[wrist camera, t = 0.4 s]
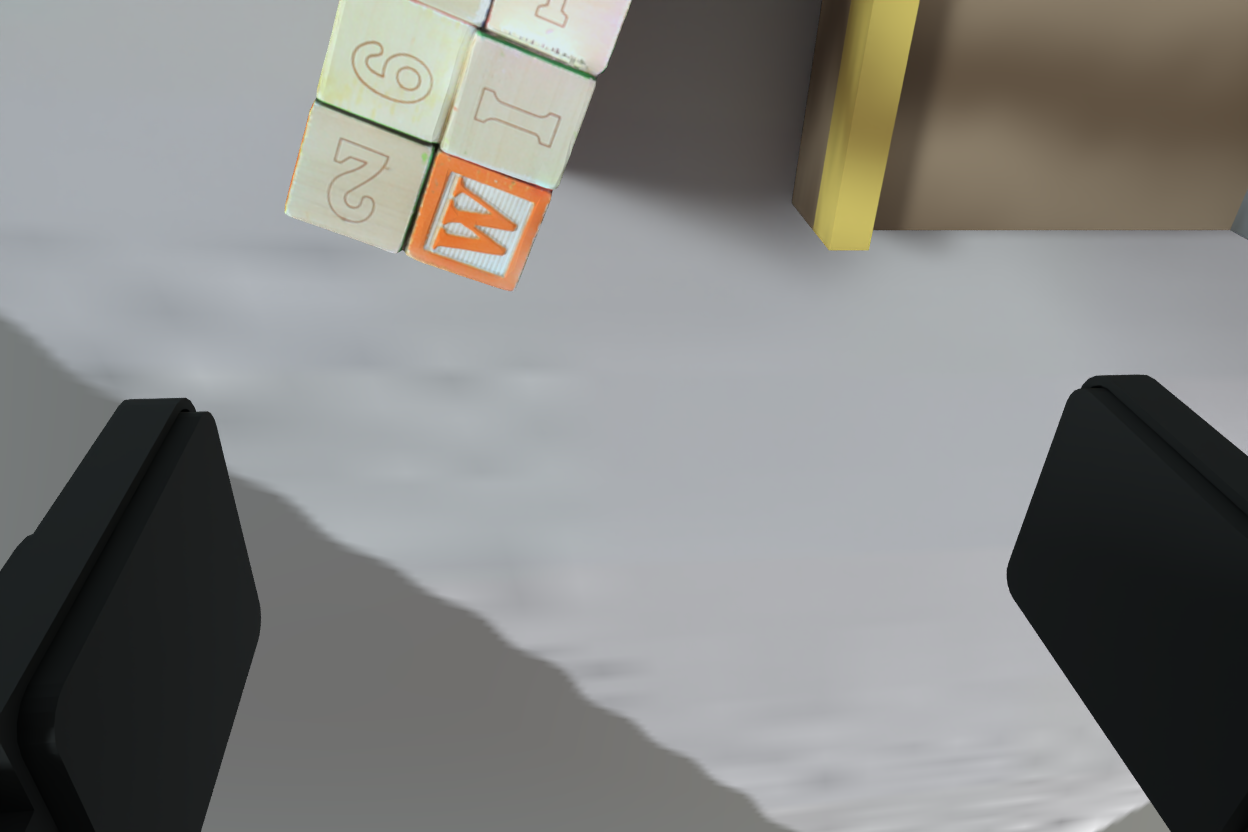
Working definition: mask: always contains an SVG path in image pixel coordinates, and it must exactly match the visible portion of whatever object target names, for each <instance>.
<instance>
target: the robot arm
mask: <svg viewBox="0 0 1248 832" xmlns="http://www.w3.org/2000/svg"><path fill="white" fill-rule="evenodd" d="M1007 583H1008V587H1009V591H1010V593H1011V595H1012V597H1013V599H1014V600H1015V602H1016V603H1017V605H1018V606H1019V608H1020V609H1021V611H1022V612H1023V614H1024V615H1025V617H1026V618H1027V620H1028V621H1029V623H1030V624H1031V625H1032V627H1033V628H1034V630H1035V631H1036V633H1037V634H1038V636H1039V637H1040V639H1041V640H1042V642H1043V643H1044V645H1045V646H1046V648H1047V649H1048V651H1049V652H1050V654H1051V655H1052V657H1053V658H1054V659H1055V661H1056V662H1057V664H1058V665H1059V667H1060V668H1061V670H1062V671H1063V673H1064V674H1065V676H1066V677H1067V679H1068V680H1069V682H1070V683H1071V685H1072V686H1073V688H1074V689H1075V691H1076V692H1077V693H1078V695H1079V696H1080V698H1081V699H1082V701H1083V702H1084V704H1085V705H1086V707H1087V708H1088V710H1089V711H1090V713H1091V714H1092V716H1093V717H1094V719H1095V720H1096V722H1097V723H1098V725H1099V726H1100V728H1101V729H1102V730H1103V732H1104V733H1105V735H1106V736H1107V738H1108V739H1109V741H1110V742H1111V744H1112V745H1113V747H1114V748H1115V750H1116V751H1117V753H1118V754H1119V756H1120V757H1121V759H1122V760H1123V762H1124V763H1125V764H1126V766H1127V767H1128V769H1129V770H1130V772H1131V773H1132V775H1133V776H1134V778H1135V779H1136V781H1137V782H1138V784H1139V785H1140V787H1141V788H1142V790H1143V791H1144V793H1145V794H1146V796H1147V797H1148V799H1149V800H1150V801H1151V803H1152V804H1153V806H1154V807H1155V809H1156V810H1157V812H1158V813H1159V815H1160V816H1161V818H1162V819H1163V821H1164V822H1165V823H1166V825H1167V827H1168V828H1169V830H1170V831H1171V832H1248V456H1247V455H1246V454H1245V453H1243V452H1242V451H1241V450H1240V449H1238V448H1237V447H1236V446H1235V445H1234V444H1232V443H1231V442H1230V441H1229V440H1228V439H1226V438H1225V437H1224V436H1223V435H1221V434H1220V433H1219V432H1218V431H1217V430H1215V429H1214V428H1213V427H1212V426H1211V425H1209V424H1208V423H1207V422H1206V421H1205V420H1203V419H1202V418H1201V417H1200V416H1198V415H1197V414H1196V413H1195V412H1194V411H1192V410H1191V409H1190V408H1189V407H1188V406H1186V405H1185V404H1184V403H1183V402H1182V401H1180V400H1179V399H1178V398H1177V397H1175V396H1174V395H1173V394H1172V393H1171V392H1169V391H1168V390H1167V389H1166V388H1165V387H1163V386H1162V385H1161V384H1160V383H1159V382H1157V381H1156V380H1155V379H1153V378H1151V377H1149V376H1148V375H1102V376H1094V377H1092V378H1089V379H1088V380H1087V381H1086V382H1085V383H1084V384H1083V385H1082V387H1081V389H1078V390H1075V391H1074V392H1073V393H1072V394H1071V395H1070V396H1069V398H1068V400H1067V402H1066V405H1065V408H1064V411H1063V413H1062V416H1061V419H1060V422H1059V425H1058V427H1057V430H1056V433H1055V436H1054V438H1053V441H1052V444H1051V447H1050V449H1049V452H1048V455H1047V458H1046V461H1045V463H1044V466H1043V469H1042V472H1041V474H1040V477H1039V480H1038V483H1037V485H1036V488H1035V491H1034V494H1033V497H1032V499H1031V502H1030V505H1029V508H1028V510H1027V513H1026V516H1025V519H1024V522H1023V524H1022V527H1021V530H1020V533H1019V535H1018V538H1017V541H1016V544H1015V546H1014V549H1013V552H1012V555H1011V558H1010V560H1009V563H1008V567H1007ZM260 626H261V611H260V603H259V600H258V595H257V591H256V587H255V582H254V578H253V574H252V570H251V566H250V562H249V558H248V553H247V549H246V545H245V541H244V537H243V533H242V529H241V525H240V521H239V516H238V512H237V508H236V504H235V500H234V496H233V492H232V488H231V484H230V479H229V475H228V471H227V467H226V463H225V459H224V455H223V451H222V446H221V442H220V438H219V434H218V430H217V426H216V423H215V420H214V418H213V416H212V414H211V413H209V412H208V411H207V412H196V410H195V407H194V406H193V404H192V403H191V401H190V400H188V399H187V398H161V399H129V400H124V401H123V402H122V403H121V404H120V405H119V406H118V408H117V409H116V411H115V412H114V414H113V415H112V417H111V418H110V420H109V421H108V423H107V425H106V426H105V427H104V429H103V430H102V432H101V433H100V435H99V436H98V438H97V439H96V441H95V442H94V444H93V445H92V447H91V448H90V450H89V451H88V453H87V454H86V456H85V457H84V459H83V460H82V462H81V463H80V465H79V466H78V468H77V469H76V471H75V472H74V474H73V475H72V477H71V478H70V480H69V482H68V483H67V484H66V486H65V487H64V489H63V490H62V492H61V493H60V495H59V496H58V498H57V499H56V501H55V502H54V504H53V505H52V507H51V508H50V510H49V511H48V513H47V514H46V516H45V517H44V518H43V520H42V521H41V523H40V524H39V526H38V527H37V529H36V531H35V532H34V534H32V535H29V536H27V537H26V538H25V539H24V540H23V541H22V542H21V543H20V544H19V545H18V546H17V548H16V549H15V550H14V552H13V553H12V555H11V556H10V558H9V559H8V561H7V562H6V564H5V565H4V566H3V568H2V569H1V571H0V832H201V829H202V826H203V822H204V819H205V816H206V812H207V809H208V806H209V802H210V799H211V796H212V792H213V789H214V785H215V782H216V779H217V776H218V772H219V769H220V766H221V762H222V759H223V755H224V752H225V749H226V746H227V742H228V739H229V736H230V732H231V729H232V726H233V722H234V719H235V715H236V712H237V709H238V706H239V702H240V699H241V696H242V692H243V689H244V685H245V682H246V679H247V676H248V672H249V669H250V665H251V662H252V659H253V655H254V652H255V649H256V646H257V642H258V639H259V633H260Z"/></svg>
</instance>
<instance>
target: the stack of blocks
mask: <svg viewBox="0 0 1248 832" xmlns="http://www.w3.org/2000/svg"><path fill="white" fill-rule="evenodd" d="M631 2H632V0H340V1H339V5H338V9H337V13H336V17H335V22H334V26H333V30H332V34H331V38H330V42H329V46H328V50H327V54H326V57H325V61H324V65H323V69H322V72H321V76H320V80H319V84H318V87H317V98H316V99H315V101H314V103H313V105H312V107H311V109H310V112H309V116H308V120H307V124H306V128H305V132H304V135H303V139H302V143H301V147H300V150H299V154H298V158H297V162H296V165H295V169H294V173H293V176H292V180H291V184H290V188H289V192H288V196H287V200H286V204H285V213H286V214H287V215H288V216H290V217H292V218H295V219H298V220H301V221H304V222H307V223H310V224H313V225H316V226H319V227H322V228H324V229H327V230H330V231H333V232H336V233H339V234H341V235H344V236H347V237H350V238H353V239H356V240H358V241H361V242H364V243H367V244H369V245H372V246H375V247H377V248H380V249H383V250H385V251H388V252H391V253H395V254H397V253H398V252H400V251H401V250H404V251H405V253H406V255H407V256H409V257H411V258H413V259H415V260H417V261H420V262H422V263H425V264H428V265H431V266H434V267H437V268H440V269H443V270H446V271H449V272H452V273H455V274H458V275H460V276H463V277H466V278H469V279H472V280H476V281H479V282H482V283H485V284H488V285H491V286H494V287H497V288H500V289H503V290H508V291H515V289H516V286H517V284H518V282H519V279H520V277H521V274H522V271H523V269H524V266H525V264H526V261H527V259H528V256H529V253H530V251H531V248H532V246H533V243H534V241H535V238H536V236H537V233H538V231H539V228H540V226H541V223H542V221H543V218H544V216H545V213H546V211H547V208H548V206H549V203H550V200H551V195H552V190H554V189H556V188H557V187H558V186H559V184H560V181H561V178H562V176H563V173H564V170H565V168H566V165H567V163H568V160H569V157H570V155H571V152H572V149H573V146H574V144H575V141H576V138H577V136H578V133H579V131H580V128H581V125H582V123H583V120H584V117H585V114H586V112H587V109H588V106H589V104H590V101H591V98H592V95H593V93H594V90H595V87H596V81H597V76H598V75H599V74H601V73H603V72H604V71H605V69H606V68H607V66H608V63H609V60H610V58H611V55H612V53H613V51H614V48H615V45H616V42H617V39H618V36H619V33H620V31H621V28H622V26H623V23H624V21H625V18H626V16H627V13H628V10H629V8H630V5H631Z"/></svg>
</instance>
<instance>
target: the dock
mask: <svg viewBox="0 0 1248 832" xmlns="http://www.w3.org/2000/svg"><path fill="white" fill-rule="evenodd" d="M792 204H793V206H794V207H795V208H796V209H797V211H798V212H799V213H800V214H801V216H802V217H803V218H804V219H805V221H806V222H807V223H808V224H809V226H810V227H811V228H812V229H813V231H814V232H815V233H816V234H817V236H818V237H819V238H820V240H821V241H822V242H823V243H824V245H825V246H826V247H827V248H828V250H869V246H870V241H871V237H872V232H873V230H1231V231H1233V232H1235V233H1236V234H1238V235H1240V236H1242V237H1244V238H1246V239H1248V0H822V4H821V11H820V18H819V24H818V31H817V38H816V44H815V51H814V58H813V64H812V71H811V78H810V84H809V91H808V98H807V104H806V111H805V118H804V124H803V131H802V137H801V144H800V151H799V157H798V164H797V171H796V177H795V184H794V191H793V197H792Z"/></svg>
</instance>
